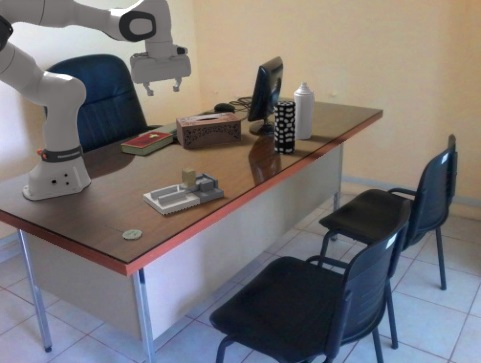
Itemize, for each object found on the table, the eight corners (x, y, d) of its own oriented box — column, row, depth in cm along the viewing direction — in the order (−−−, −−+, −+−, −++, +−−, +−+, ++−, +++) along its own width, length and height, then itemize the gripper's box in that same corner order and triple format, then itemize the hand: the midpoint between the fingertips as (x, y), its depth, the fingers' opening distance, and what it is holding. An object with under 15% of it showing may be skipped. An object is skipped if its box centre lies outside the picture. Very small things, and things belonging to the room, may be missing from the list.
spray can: (320, 137, 207) (322, 80, 198) (305, 143, 200) (307, 84, 190) (299, 132, 215) (300, 77, 205) (284, 137, 208) (285, 81, 198)
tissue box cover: (232, 133, 218) (231, 112, 214) (241, 142, 205) (240, 120, 201) (177, 139, 211) (175, 118, 207) (183, 149, 198) (181, 126, 194)
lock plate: (163, 215, 141) (161, 200, 139) (143, 200, 151) (141, 185, 149) (223, 196, 152) (223, 182, 150) (201, 183, 163) (200, 169, 161)
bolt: (184, 193, 149) (182, 173, 146) (179, 190, 152) (177, 170, 149) (210, 186, 154) (209, 166, 152) (205, 182, 157) (204, 163, 154)
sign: (110, 219, 138) (145, 232, 130) (110, 222, 139) (145, 235, 130) (95, 226, 134) (131, 240, 126) (96, 229, 135) (131, 242, 127)
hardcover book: (121, 152, 197) (120, 143, 195) (153, 139, 213) (152, 130, 212) (143, 156, 191) (142, 147, 190) (174, 142, 208) (173, 133, 206)
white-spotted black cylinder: (297, 149, 193) (298, 101, 185) (291, 155, 186) (291, 106, 178) (278, 147, 196) (278, 100, 188) (271, 153, 189) (271, 104, 182)
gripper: (133, 54, 141) (138, 100, 146) (192, 48, 151) (194, 90, 157) (125, 53, 145) (130, 96, 151) (182, 46, 156) (185, 87, 161)
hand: (163, 93), depth 154 cm, fingers open, 8 cm apart
